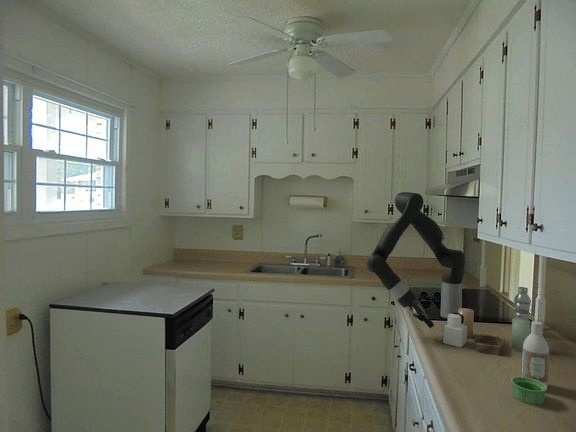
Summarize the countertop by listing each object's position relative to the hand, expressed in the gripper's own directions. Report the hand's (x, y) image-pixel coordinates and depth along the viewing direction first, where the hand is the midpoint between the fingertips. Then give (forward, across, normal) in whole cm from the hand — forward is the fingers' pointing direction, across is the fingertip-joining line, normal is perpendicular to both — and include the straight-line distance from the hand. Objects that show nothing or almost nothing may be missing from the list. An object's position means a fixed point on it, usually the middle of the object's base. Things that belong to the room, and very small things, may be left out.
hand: (432, 326), depth 161 cm
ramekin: (+24, -39, -16) cm, 48 cm away
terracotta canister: (+13, +12, -5) cm, 18 cm away
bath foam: (+26, -29, -18) cm, 43 cm away
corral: (+18, 0, -11) cm, 21 cm away
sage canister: (+27, +5, -19) cm, 33 cm away
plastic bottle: (+29, +25, -21) cm, 44 cm away
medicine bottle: (+10, 0, -2) cm, 10 cm away
